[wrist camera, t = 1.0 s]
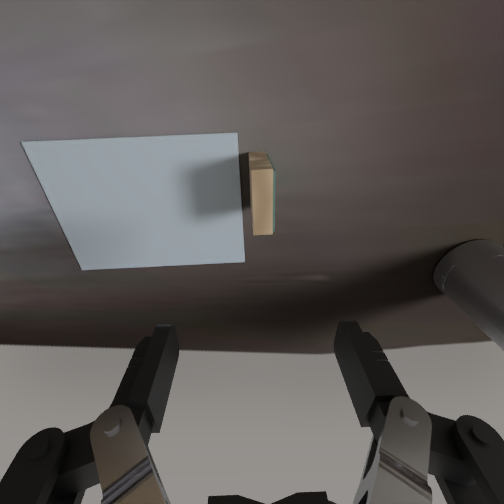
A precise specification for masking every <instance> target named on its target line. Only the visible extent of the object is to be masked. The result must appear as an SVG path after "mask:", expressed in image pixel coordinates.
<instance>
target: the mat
mask: <svg viewBox="0 0 504 504" xmlns="http://www.w3.org/2000/svg"><path fill="white" fill-rule="evenodd" d="M21 143H22V145H23V147H24V149H25V152H26V154H27V156H28V158H29V160H30V162H31V164H32V166H33V168H34V170H35V172H36V175H37V177H38V179H39V181H40V183H41V185H42V187H43V189H44V191H45V193H46V196H47V198H48V200H49V202H50V204H51V206H52V208H53V210H54V212H55V214H56V216H57V219H58V221H59V223H60V225H61V227H62V229H63V231H64V233H65V235H66V237H67V240H68V242H69V244H70V246H71V248H72V250H73V252H74V254H75V256H76V258H77V260H78V263H79V265H80V267H81V269H82V270H94V269H114V268H134V267H154V266H174V265H194V264H214V263H234V262H245V254H244V238H243V221H242V204H241V187H240V171H239V154H238V137H237V132H234V133H211V134H187V135H164V136H141V137H117V138H94V139H71V140H47V141H24V142H21Z"/></svg>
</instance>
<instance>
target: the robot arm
mask: <svg viewBox="0 0 504 504" xmlns="http://www.w3.org/2000/svg"><path fill="white" fill-rule="evenodd" d="M433 279H434V283H435V284H436V286H437V287H438V288H439V289H440V290H441V291H442V292H443V293H444V294H445V295H446V296H447V297H448V298H449V299H450V300H451V301H453V302H454V303H455V305H456V306H458V307H459V308H460V309H461V310H462V311H463V312H464V313H465V314H466V315H467V316H468V317H469V318H470V319H471V320H472V321H473V322H474V323H475V324H476V325H477V326H478V327H479V328H481V329H482V330H483V331H484V332H485V333H486V334H487V335H488V336H489V337H490V338H491V339H492V340H493V341H494V342H495V343H496V344H497V345H498V346H499V347H500V348H501V349H503V350H504V247H502V246H500V245H498V244H497V243H495V242H492V241H490V240H474V241H469V242H467V243H464V244H461V245H460V246H458V247H456V248H454V249H453V250H451V251H450V252H448V253H447V254H446V255H445V256H444V257H443V258H442V259H441V260H440V262H439V263H438V265H437V266H436V268H435V271H434V275H433ZM334 352H335V355H336V358H337V361H338V363H339V367H340V369H341V372H342V375H343V378H344V380H345V383H346V386H347V389H348V392H349V394H350V397H351V400H352V403H353V406H354V408H355V411H356V414H357V417H358V419H359V422H360V425H361V427H371V430H372V432H373V436H372V440H371V443H370V447H369V451H368V455H367V458H366V462H365V466H364V470H363V473H362V477H361V481H360V484H359V487H358V490H357V492H356V495H355V498H354V501H353V504H432V490H431V488H430V487H429V486H428V484H427V476H428V473H429V474H432V475H434V476H435V478H436V480H437V482H438V484H439V486H440V489H441V491H442V493H443V495H444V497H445V500H446V502H447V504H504V441H503V439H502V438H501V436H500V435H499V434H498V433H497V432H496V430H495V429H493V428H492V427H491V426H490V425H489V424H487V423H486V422H484V421H483V420H481V419H479V418H476V417H474V416H470V415H463V416H460V417H459V418H458V419H457V420H456V421H454V420H451V419H448V418H444V417H441V416H437V415H434V414H431V413H429V412H427V411H426V410H425V409H424V408H423V407H422V406H421V405H420V404H418V403H417V402H416V401H414V400H412V399H410V397H409V396H408V394H407V393H406V391H405V389H404V388H403V386H402V384H401V382H400V380H399V379H398V377H397V375H396V373H395V372H394V370H393V368H392V366H391V364H390V363H389V362H388V359H387V357H386V355H385V353H383V350H382V348H381V346H380V344H379V342H378V341H377V340H376V339H375V338H374V337H373V336H372V335H371V334H370V333H369V332H362V330H361V328H360V326H359V324H358V323H357V322H356V321H340V322H339V324H338V328H337V332H336V336H335V340H334ZM178 356H179V344H178V339H177V335H176V330H175V326H174V325H173V324H172V325H157V326H156V328H155V330H154V333H153V335H152V337H144V338H143V340H142V341H141V342H140V343H139V344H138V345H137V346H136V349H135V351H134V353H133V356H132V359H131V360H130V363H129V365H128V368H127V369H126V372H125V374H124V377H123V379H122V381H121V383H120V386H119V388H118V391H117V393H116V395H115V397H114V400H113V402H112V404H111V405H110V407H109V408H108V409H107V410H105V411H104V412H103V413H101V414H100V415H99V416H98V418H97V419H96V420H95V421H93V422H92V423H89V424H87V425H84V426H82V427H79V428H76V429H73V430H70V431H68V432H65V433H63V432H62V430H61V429H59V428H47V429H44V430H42V431H40V432H38V433H36V434H35V435H33V436H32V437H31V438H30V439H29V440H27V441H26V442H25V444H23V446H22V447H21V448H20V450H19V451H18V453H17V454H16V456H15V458H14V459H13V461H12V463H11V464H10V466H9V468H8V470H7V472H6V473H5V475H4V476H3V478H2V480H1V482H0V504H81V501H82V498H83V496H84V493H85V490H86V489H87V488H89V487H92V486H94V485H96V484H99V483H100V484H101V488H102V494H103V499H102V501H101V504H171V503H170V501H169V499H168V497H167V494H166V491H165V489H164V487H163V484H162V481H161V479H160V476H159V473H158V471H157V468H156V466H155V463H154V461H153V458H152V455H151V453H150V450H149V447H148V443H149V439H150V435H151V433H159V432H160V429H161V425H162V421H163V417H164V413H165V408H166V405H167V401H168V397H169V392H170V389H171V385H172V380H173V377H174V373H175V369H176V365H177V361H178ZM208 504H264V503H261V502H257V501H254V500H252V499H248V498H245V497H242V496H239V495H226V496H209V497H208ZM272 504H336V503H334V502H332V501H329V500H328V499H327V494H326V491H325V492H303V493H302V492H300V493H295V494H293V495H291V496H288V497H286V498H284V499H281V500H279V501H276V502H274V503H272Z"/></svg>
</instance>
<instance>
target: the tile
mask: <svg viewBox="0 0 504 504" xmlns="http://www.w3.org/2000/svg"><path fill="white" fill-rule="evenodd" d="M275 173H276V171H275V169H274V167H273V165H272V162H271V160H270V158H269V156H268V154H266V152H265V151H263V152H249V176H250V201H251V214H252V225H253V235H269V234H273V231H275Z"/></svg>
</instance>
